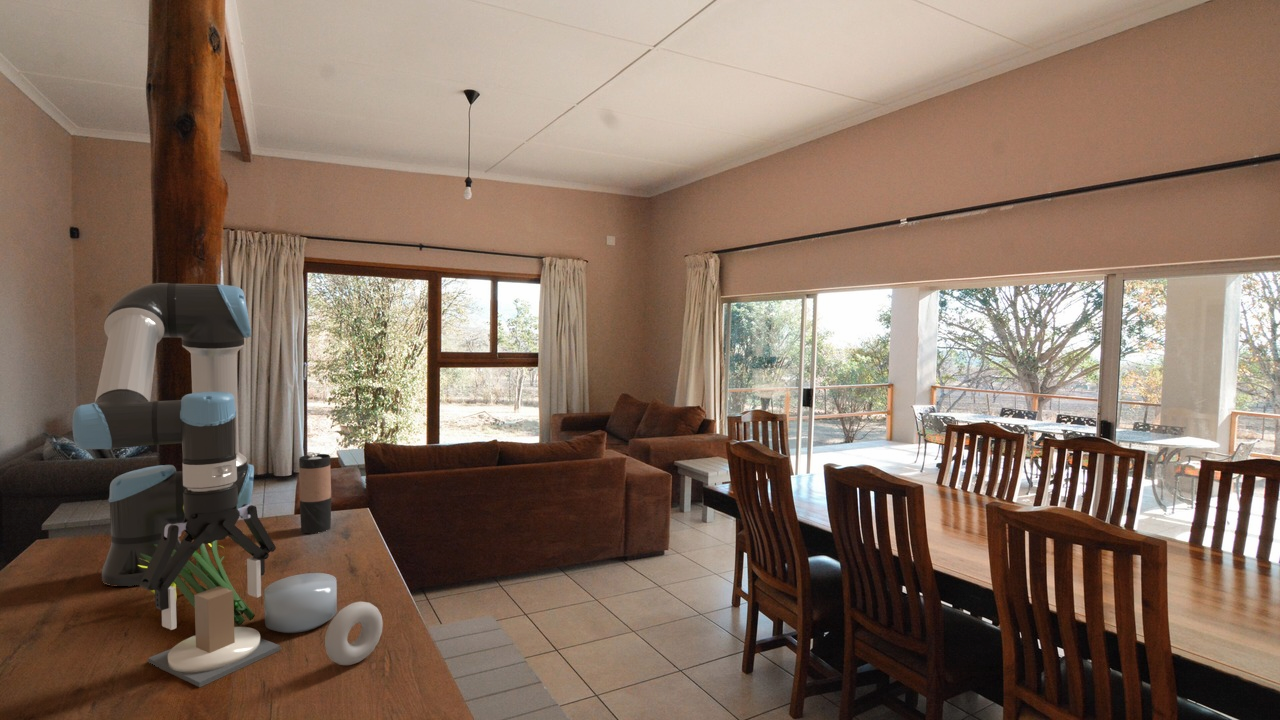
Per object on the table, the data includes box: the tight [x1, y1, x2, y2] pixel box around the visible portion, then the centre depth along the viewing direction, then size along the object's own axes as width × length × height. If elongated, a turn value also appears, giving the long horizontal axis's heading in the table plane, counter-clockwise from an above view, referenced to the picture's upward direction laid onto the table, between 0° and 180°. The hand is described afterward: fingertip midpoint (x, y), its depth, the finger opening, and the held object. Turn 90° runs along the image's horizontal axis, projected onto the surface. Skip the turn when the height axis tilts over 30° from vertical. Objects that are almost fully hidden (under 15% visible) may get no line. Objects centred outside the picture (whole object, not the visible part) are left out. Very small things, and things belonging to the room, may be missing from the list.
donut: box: [324, 601, 384, 666], centre depth 107 cm, size 10×4×10 cm, turn 148°
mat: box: [147, 637, 281, 688], centre depth 109 cm, size 15×13×1 cm
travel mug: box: [298, 453, 332, 534], centre depth 174 cm, size 8×8×20 cm
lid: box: [168, 586, 261, 673], centre depth 108 cm, size 13×13×10 cm
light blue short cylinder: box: [263, 572, 338, 634], centre depth 121 cm, size 12×12×7 cm
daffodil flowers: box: [138, 505, 256, 627], centre depth 126 cm, size 17×15×35 cm
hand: (214, 610), depth 108 cm, fingers open, 13 cm apart
